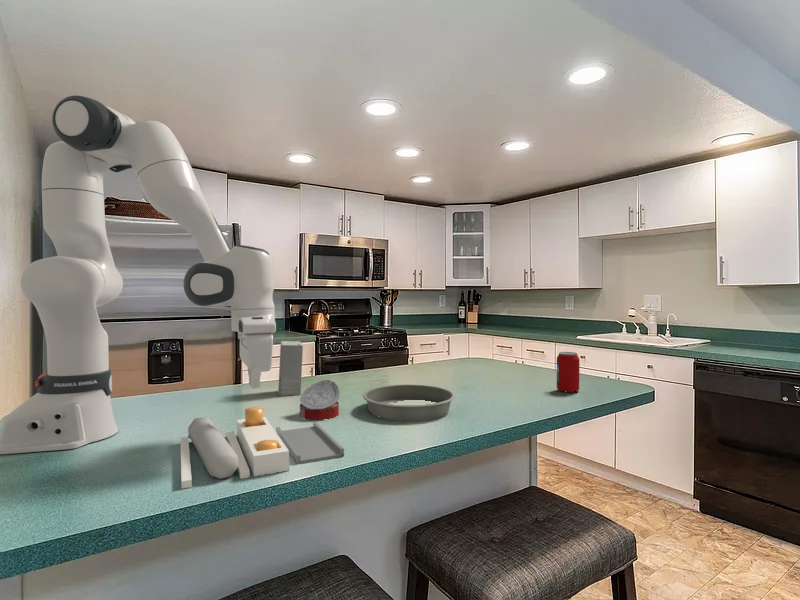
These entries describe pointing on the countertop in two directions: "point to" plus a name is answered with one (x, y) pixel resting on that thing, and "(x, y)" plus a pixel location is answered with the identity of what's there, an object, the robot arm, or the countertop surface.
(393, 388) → the cake pan
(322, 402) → the canned food
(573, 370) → the beverage can
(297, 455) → the tray
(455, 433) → the countertop surface
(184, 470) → the housing
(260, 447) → the front plunger
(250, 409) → the rear plunger
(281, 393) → the skincare box
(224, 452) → the tube
